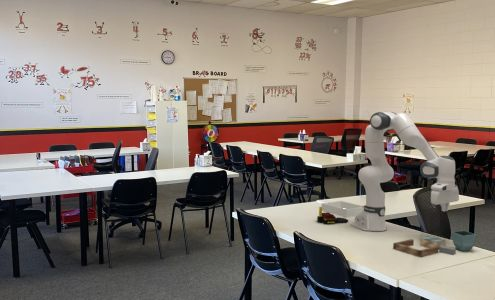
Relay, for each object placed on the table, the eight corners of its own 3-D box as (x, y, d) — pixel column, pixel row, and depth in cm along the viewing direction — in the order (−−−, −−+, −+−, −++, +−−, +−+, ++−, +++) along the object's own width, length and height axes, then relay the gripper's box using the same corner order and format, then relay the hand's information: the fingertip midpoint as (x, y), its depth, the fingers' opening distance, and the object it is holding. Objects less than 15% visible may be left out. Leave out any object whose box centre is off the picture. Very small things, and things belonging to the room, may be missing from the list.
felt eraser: (439, 252, 250) (439, 247, 250) (442, 251, 253) (442, 245, 253) (452, 255, 245) (453, 249, 245) (455, 253, 248) (456, 248, 248)
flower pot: (461, 252, 249) (462, 235, 248) (450, 247, 258) (451, 231, 257) (476, 251, 252) (476, 234, 251) (464, 246, 260) (465, 230, 259)
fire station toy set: (313, 221, 316) (313, 204, 315) (340, 219, 322) (341, 203, 321) (323, 226, 302) (323, 209, 301) (351, 224, 308) (352, 207, 307)
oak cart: (420, 246, 261) (420, 238, 261) (428, 243, 266) (428, 235, 266) (437, 250, 253) (437, 242, 253) (445, 247, 258) (445, 239, 258)
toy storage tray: (321, 211, 344) (321, 203, 343) (341, 208, 354) (341, 200, 354) (346, 218, 323) (346, 209, 322) (366, 215, 333) (366, 206, 333)
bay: (393, 248, 255) (393, 243, 255) (411, 244, 263) (411, 239, 263) (420, 257, 241) (420, 251, 241) (438, 252, 249) (438, 247, 249)
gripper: (452, 183, 270) (451, 207, 271) (429, 186, 259) (428, 211, 260) (462, 185, 265) (461, 209, 266) (439, 188, 254) (438, 214, 255)
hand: (444, 210), depth 263 cm, fingers closed
